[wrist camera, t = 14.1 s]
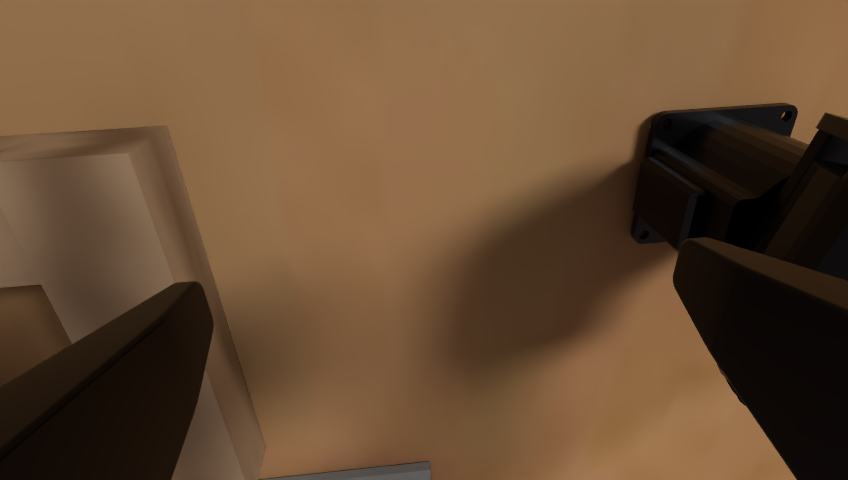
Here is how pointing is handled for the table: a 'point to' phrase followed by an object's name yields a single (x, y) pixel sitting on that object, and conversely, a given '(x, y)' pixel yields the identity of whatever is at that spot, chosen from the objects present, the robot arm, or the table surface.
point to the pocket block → (123, 262)
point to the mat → (372, 473)
